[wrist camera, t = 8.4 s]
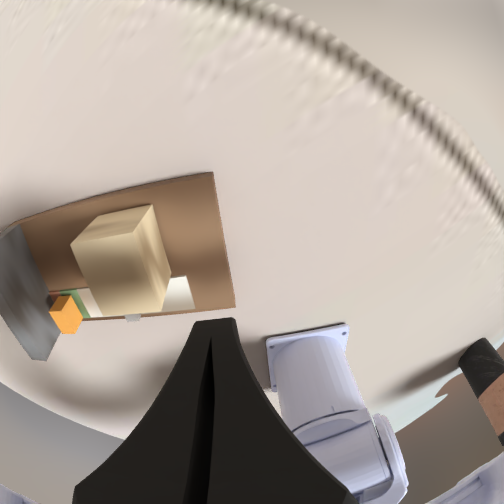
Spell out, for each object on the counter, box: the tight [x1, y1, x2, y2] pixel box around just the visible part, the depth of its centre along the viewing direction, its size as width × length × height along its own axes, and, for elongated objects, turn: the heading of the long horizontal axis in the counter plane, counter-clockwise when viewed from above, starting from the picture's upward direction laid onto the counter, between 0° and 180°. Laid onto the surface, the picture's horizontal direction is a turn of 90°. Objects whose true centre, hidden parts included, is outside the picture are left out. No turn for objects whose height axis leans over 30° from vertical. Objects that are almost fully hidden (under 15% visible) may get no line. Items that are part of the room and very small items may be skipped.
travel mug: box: [459, 338, 504, 446], centre depth 25 cm, size 8×8×20 cm
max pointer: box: [49, 295, 83, 334], centre depth 18 cm, size 2×2×2 cm, turn 6°
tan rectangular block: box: [70, 204, 171, 322], centre depth 16 cm, size 8×4×4 cm, turn 6°
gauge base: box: [0, 172, 236, 361], centre depth 16 cm, size 10×18×6 cm, turn 96°
